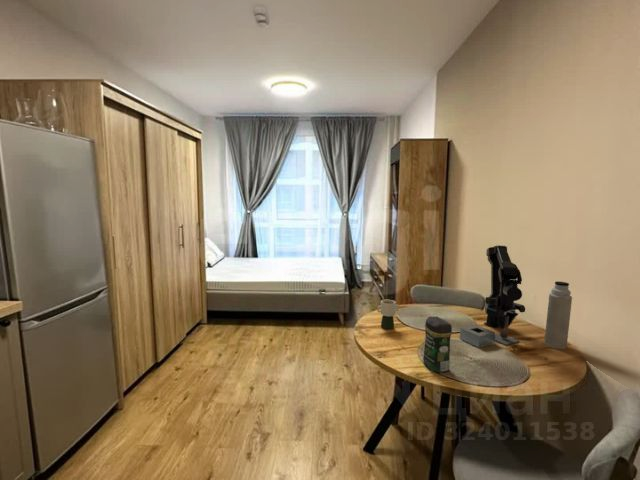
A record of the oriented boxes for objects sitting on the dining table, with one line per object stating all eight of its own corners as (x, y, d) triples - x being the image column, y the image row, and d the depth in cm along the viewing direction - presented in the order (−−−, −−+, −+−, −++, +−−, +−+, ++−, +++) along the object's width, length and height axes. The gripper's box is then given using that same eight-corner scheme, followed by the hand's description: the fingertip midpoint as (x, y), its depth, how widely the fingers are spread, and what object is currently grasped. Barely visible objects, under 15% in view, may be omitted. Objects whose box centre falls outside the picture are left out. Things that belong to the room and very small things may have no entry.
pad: (500, 334, 157) (500, 333, 157) (519, 342, 149) (519, 340, 149) (487, 337, 153) (487, 336, 153) (505, 345, 145) (505, 344, 145)
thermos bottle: (542, 340, 151) (548, 279, 148) (562, 343, 149) (569, 281, 145) (547, 347, 144) (553, 283, 140) (569, 350, 141) (576, 285, 138)
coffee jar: (419, 361, 130) (422, 315, 128) (438, 359, 131) (441, 314, 129) (433, 374, 120) (436, 324, 118) (452, 372, 122) (456, 323, 120)
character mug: (394, 324, 168) (395, 298, 167) (401, 329, 162) (402, 303, 160) (374, 325, 166) (374, 300, 165) (379, 331, 159) (380, 304, 158)
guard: (475, 335, 156) (476, 324, 156) (494, 343, 147) (495, 332, 147) (459, 338, 152) (460, 328, 151) (478, 347, 143) (479, 336, 142)
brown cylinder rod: (502, 335, 153) (504, 313, 151) (508, 337, 150) (510, 315, 149) (498, 336, 151) (500, 314, 150) (504, 338, 149) (506, 316, 148)
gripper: (504, 287, 160) (501, 319, 162) (476, 291, 152) (474, 325, 154) (527, 293, 150) (524, 327, 152) (499, 298, 142) (496, 334, 144)
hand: (504, 328), depth 150 cm, fingers closed on brown cylinder rod, 3 cm apart
